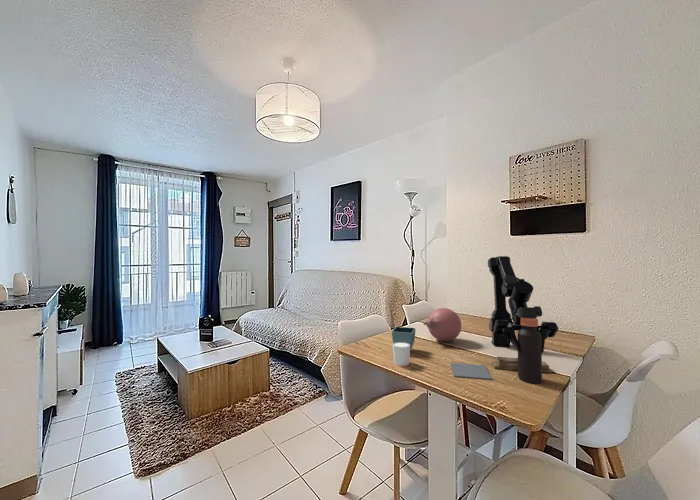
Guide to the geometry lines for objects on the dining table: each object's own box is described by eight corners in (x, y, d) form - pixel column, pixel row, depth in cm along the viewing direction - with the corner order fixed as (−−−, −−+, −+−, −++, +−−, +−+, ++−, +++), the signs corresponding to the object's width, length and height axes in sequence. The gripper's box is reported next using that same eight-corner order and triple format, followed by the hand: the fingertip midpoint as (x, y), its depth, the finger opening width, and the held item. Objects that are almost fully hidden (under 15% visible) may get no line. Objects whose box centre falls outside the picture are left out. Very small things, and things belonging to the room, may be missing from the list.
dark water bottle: (546, 380, 97) (545, 319, 97) (535, 385, 93) (534, 321, 93) (524, 373, 103) (523, 315, 103) (513, 378, 99) (513, 317, 99)
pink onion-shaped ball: (413, 339, 144) (412, 307, 144) (446, 334, 152) (445, 304, 152) (433, 348, 130) (433, 313, 130) (468, 343, 138) (468, 309, 138)
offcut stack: (494, 368, 107) (494, 360, 107) (491, 363, 112) (491, 355, 112) (551, 372, 103) (551, 364, 103) (545, 367, 108) (545, 359, 108)
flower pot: (391, 352, 126) (391, 331, 126) (396, 346, 134) (396, 326, 134) (412, 355, 122) (412, 333, 123) (416, 348, 131) (415, 328, 131)
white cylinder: (411, 360, 116) (411, 342, 116) (409, 367, 109) (409, 348, 109) (394, 359, 118) (394, 341, 118) (390, 365, 112) (390, 346, 112)
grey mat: (453, 376, 101) (453, 375, 101) (450, 363, 112) (450, 362, 112) (492, 379, 98) (492, 378, 98) (484, 366, 109) (484, 365, 109)
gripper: (494, 296, 104) (503, 336, 93) (555, 298, 100) (572, 340, 89) (490, 314, 112) (497, 353, 101) (546, 316, 107) (560, 358, 96)
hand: (530, 351), depth 97 cm, fingers closed on dark water bottle, 7 cm apart
